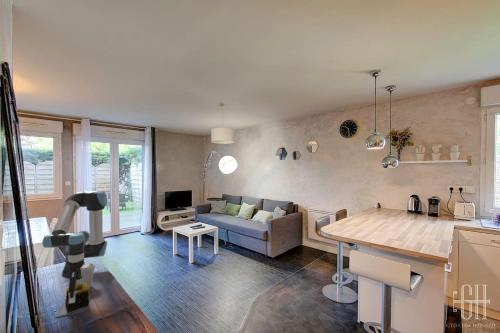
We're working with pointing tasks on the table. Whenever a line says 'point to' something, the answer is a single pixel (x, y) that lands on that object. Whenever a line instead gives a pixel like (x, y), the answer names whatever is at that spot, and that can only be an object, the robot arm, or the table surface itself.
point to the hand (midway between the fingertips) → (74, 296)
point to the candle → (78, 297)
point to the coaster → (64, 312)
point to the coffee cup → (87, 274)
